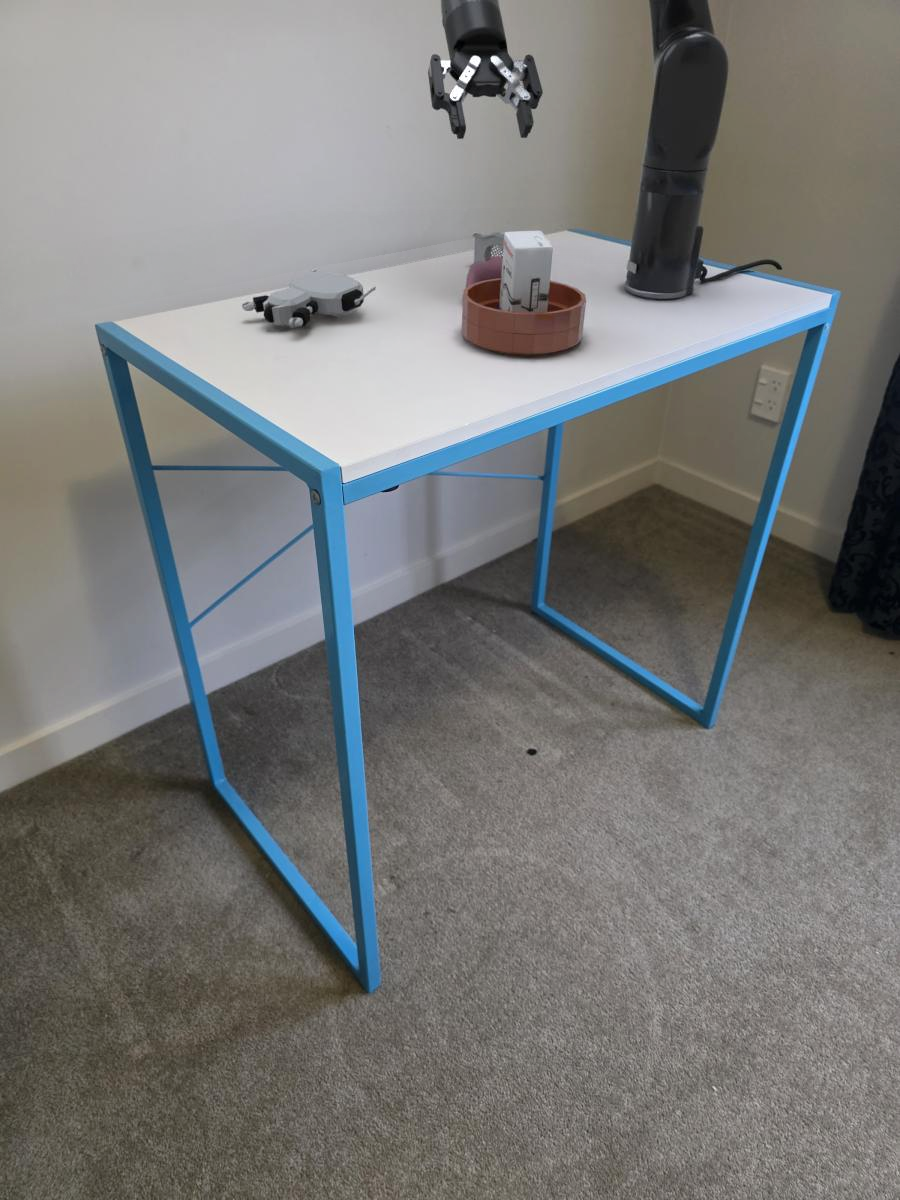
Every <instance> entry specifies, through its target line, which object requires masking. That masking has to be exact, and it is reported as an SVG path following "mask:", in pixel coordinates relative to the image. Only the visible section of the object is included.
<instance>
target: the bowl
mask: <svg viewBox="0 0 900 1200" xmlns="http://www.w3.org/2000/svg"><path fill="white" fill-rule="evenodd" d="M500 290H501V278H497V279H491V280H485V281H480V282H477V283H474V284H472V285H470V286H468V287H467V288H466V287H465V288H464V289H463V290H462V291H463V292H462V303H461V304H462V306H461V307H462V309H461V311H462V312H461V334H462V335H463V337H464V339H466V340H467V341H468V342H470V343H472V344H474V345H475V346H478V347H480V348H483V349H484V350H488V351H491V352H495V353H499V354H506V355H512V356H513V355H514V356H542V355H550V354H554V353H559V352H562V351H565V350H568V349H570V348H572V347H574V346H576V345H578V344H579V343H580V341H581V340H582V339H583V335H584V334H583V333H584V325H585V316H586V306H587V297H586V294H585V293H584V292H583V291H581V290H580V289H579V288H576V287H575V286H571V285H569V284H567V283H562V282H558V281H555V280H550V286H549V296H548V307H547V312H540V313H526V312H511V311H504V310H499V303H500Z"/></svg>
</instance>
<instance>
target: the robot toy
mask: <svg viewBox="0 0 900 1200" xmlns="http://www.w3.org/2000/svg"><path fill="white" fill-rule="evenodd" d="M376 289H377V286H376V285H375V286H374V285H373V286H372V287H371V288H370V289H368V291H367V292H366V293H364V286H363V284H362V283H361V282H360V281H358V280H357V279H355V278H353V277H351V276H349V275H346V274H343V273H339V272H332V271H317V269H312V270H310V272H308V273H305V274H303V275H299V276H297V277H294V278H292V279H291V281H289V284H288V288H284V289H280V290H277V291H274V292H271V293H270V295H266V294H264V295H259V296H253V297H252V301H245V302H243V303H241V307H242V309H243V310H244V311H246V312H252V311H254V310H255V312H256V313H257V314H258V313H262V312H263V318H264V319H265V321H266V323H271V324H272V323H273V324H274V326H283V327H286V328H289V329H296V328H303V327H305V326H307V325H308V324H309V323H310V322H311V317H312V316H313V315H315V314H319V315H326V316H334V317H337V318H344V317H347V316H348V315H349V314H351V313H352V311H353V310H356V309H358V308H361V307H362V305H363V304H364V302H365V298H366V297H367V296H369V295H370V294H371V293H372V292H374V291H375V290H376Z"/></svg>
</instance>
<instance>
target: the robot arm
mask: <svg viewBox="0 0 900 1200" xmlns="http://www.w3.org/2000/svg"><path fill="white" fill-rule="evenodd" d="M648 7H649V16H650V29H651V41H652V75H653V78H652V79H653V83H654V87H653V94H652V102H651V108H650V117H649V122H648V128H647V134H646V139H645V143H644V147H643V155H642V164H641V171H640V175H639V176H640V177H639V183H638V191H637V198H636V205H635V214H634V221H633V223H634V224H633V228H632V236H631V242H630V250H629V257H628V260H627V265H626V270H627V272H626V276H625V277H626V280H625V281H624V290H625V291H626V292H628V293H630V294H632V295H634V296H638V297H641V298H646V299H647V298H649V299H658V300H671V299H678V298H682V297H684V296H687V295H692V294H693V290H694V285H695V280H699V281H700V283H702V284H704V283H706V284H707V283H712V282H716V281H718V280H720V279H723V278H725V277H728V276H731V275H732V274H734V273H738V272H742V271H745V270H749V269H752V268H755V267H759V266H764V265H770V266H773V267H775V269H776V270H778V271H782V270H783V266H782V264H780V263H779V262H778V261H776V260H774V259H769V258H768V259H760V260H755V261H753V262H749V263H746V264H743V265H739V266H735V267H733V268H730V269H729V270H726V271H723V272H719V273H718V274H715V275H712V276H711V277H707V275H708V269H707V266H705V265H704V260H701V259H700V258H699V257H700V252H701V246H702V242H703V235H704V227H703V226H702V225H700V219H701V213H702V208H703V203H704V196H705V191H706V184H707V180H708V174H709V168H710V163H711V158H712V154H713V151H714V148H715V145H716V141H717V138H718V133H719V127H720V122H721V117H722V111H723V107H724V102H725V97H726V91H727V86H728V78H729V71H730V70H729V69H730V65H729V64H730V62H729V55H728V52H727V50H726V48H725V46H724V44H723V43H722V42H721V40H720V39H719V38H717V36H716V32H715V28H714V24H713V23H714V22H713V19H712V13H711V8H710V3H709V0H648ZM440 11H441V18H442V19H441V22H442V28H443V29H444V35H445V40H446V44H447V50H448V51H447V52H448V56H449V60H445V59H444V60H443V59H441V56H440V55H439V54H436V53H434V54H432V55H431V57H430V61H429V66H428V69H427V70H428V72H427V76H428V83H429V84H428V85H429V91H430V92H429V93H430V101H431V108H432V109H433V110H435V111H439V110H443V111H446V113H447V114H448V120H449V125H450V130H451V133H452V134H453V135H456V139H458V140H463V139H464V138H465V135H466V133H467V132H466V131H467V124H466V117H465V114H464V109H463V103H464V101H465V99H466V98H467V96H468V95H471V96H472V98H480V97H489V98H496V97H498V98H499V99H500V100H501V101H502V102H503V103H504V104H506V105H508V104H509V105H510V106H511V107H512V108H513V109H514V110H515V111H516V114H515V115H516V116H515V117H516V120H517V125H518V126H517V127H518V130H519V136H520V139H527V138H528V136H529V135H530V133H531V131H532V129H533V127H534V121H535V120H534V117H533V112H532V110H536V109H538V107H539V103H540V100H541V98H542V96H543V94H544V91H543V87H542V83H541V79H540V76H539V73H538V69H537V65H536V62H535V57H534V56H533V55H531V54H526V55H525V56H524V59H522V60H518V59H517V60H513V58H512V56H511V55H510V54H509V51H508V43H507V37H506V33H505V27H504V22H503V17H502V12H501V7H500V2H499V0H440ZM447 74H449V75H450V77H451V78H452V79H453V80H454V81H455V82H456V84H455V86H454V88H453V89H452V90H451V92H450V93H448V92H445V84H444V80H445V79H446V76H447ZM520 82H521V83H522V85H523V86H522V85H521V84H520ZM506 85H507V88H505V86H506Z"/></svg>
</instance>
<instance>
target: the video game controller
mask: <svg viewBox="0 0 900 1200" xmlns="http://www.w3.org/2000/svg"><path fill="white" fill-rule="evenodd" d="M493 256H494V255H493ZM502 261H503V257H501V256H500V257H499V256H498V255H497V256H496V255H495V256H494V257H490V258H485V259H479V260H477V262H475V263H474V262H473V264H471V266H470V267H469V269H468V273H467V276H466V281H465V289H466V288H467V287H468V286H470V285H472V284H474V283H477V282H480V281H485V280H491V279H497V278H501V275H502Z"/></svg>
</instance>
